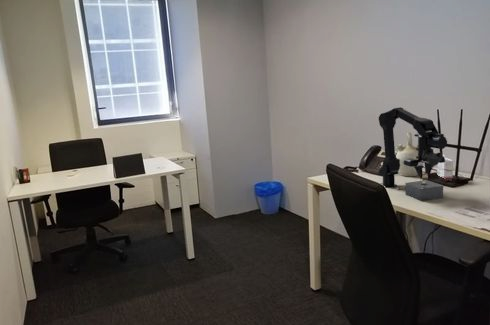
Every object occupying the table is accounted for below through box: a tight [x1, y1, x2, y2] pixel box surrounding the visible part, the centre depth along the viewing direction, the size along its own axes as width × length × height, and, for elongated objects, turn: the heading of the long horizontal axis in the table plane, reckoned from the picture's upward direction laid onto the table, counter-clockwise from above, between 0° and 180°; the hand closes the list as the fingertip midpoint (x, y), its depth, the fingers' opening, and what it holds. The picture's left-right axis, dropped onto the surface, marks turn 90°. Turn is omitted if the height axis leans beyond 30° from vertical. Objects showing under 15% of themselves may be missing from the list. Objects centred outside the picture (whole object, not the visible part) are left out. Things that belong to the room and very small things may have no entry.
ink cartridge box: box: [436, 154, 454, 179], centre depth 214 cm, size 9×5×15 cm, turn 178°
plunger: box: [421, 171, 429, 185], centre depth 190 cm, size 9×9×8 cm
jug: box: [395, 132, 424, 177], centre depth 231 cm, size 15×16×25 cm
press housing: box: [404, 179, 444, 202], centre depth 190 cm, size 12×12×6 cm
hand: (424, 178), depth 189 cm, fingers closed on plunger, 3 cm apart
